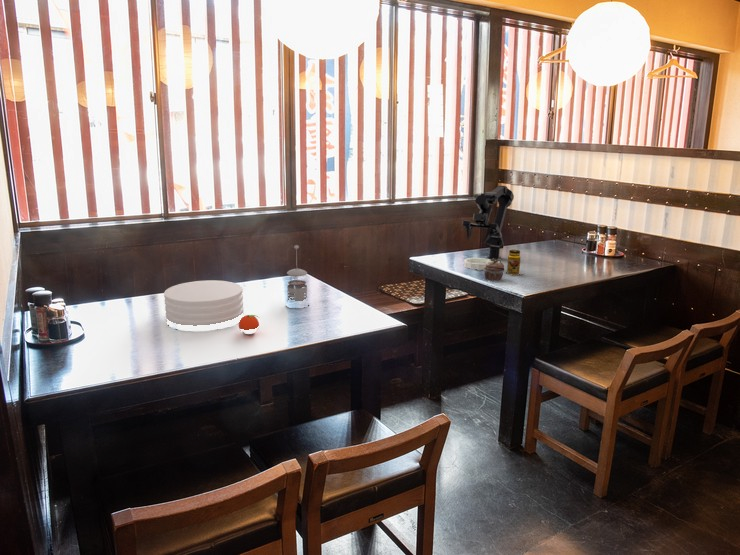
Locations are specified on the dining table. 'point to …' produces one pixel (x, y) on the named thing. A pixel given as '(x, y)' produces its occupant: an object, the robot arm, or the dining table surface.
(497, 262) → the cupcake
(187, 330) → the dining table surface
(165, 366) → the dining table surface
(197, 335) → the dining table surface
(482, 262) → the bowl
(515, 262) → the condiment
